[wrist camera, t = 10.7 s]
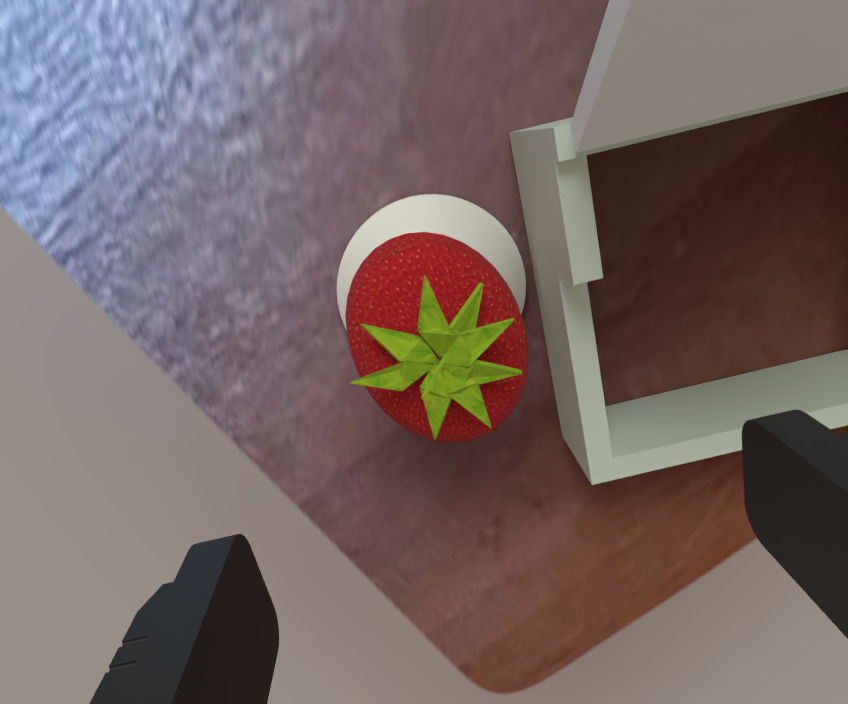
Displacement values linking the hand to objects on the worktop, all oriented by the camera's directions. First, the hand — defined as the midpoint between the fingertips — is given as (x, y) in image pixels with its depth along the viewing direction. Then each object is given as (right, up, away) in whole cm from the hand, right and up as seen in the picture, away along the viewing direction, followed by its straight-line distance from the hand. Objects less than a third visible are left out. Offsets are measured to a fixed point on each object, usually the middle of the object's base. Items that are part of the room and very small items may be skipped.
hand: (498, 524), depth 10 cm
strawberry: (-1, +5, +16) cm, 17 cm away
